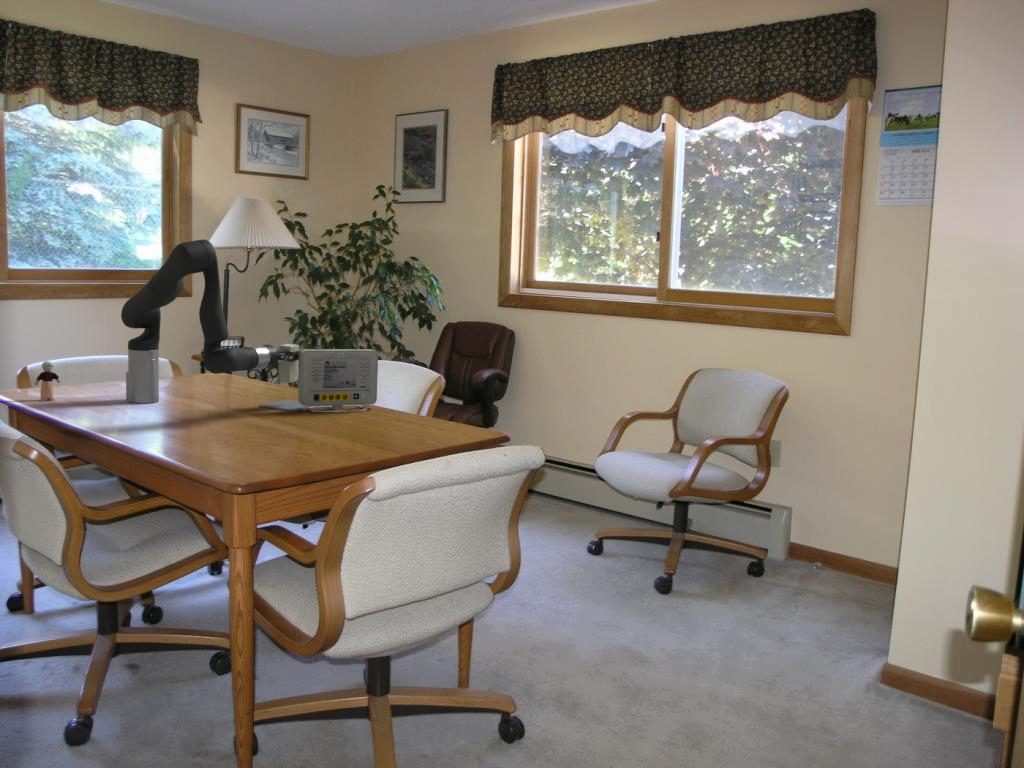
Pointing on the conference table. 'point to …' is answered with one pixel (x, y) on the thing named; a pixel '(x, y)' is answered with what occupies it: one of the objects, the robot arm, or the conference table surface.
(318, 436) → the conference table surface
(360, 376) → the network device
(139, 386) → the robot arm
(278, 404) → the slate pad
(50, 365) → the grandmother figurine
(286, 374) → the skincare box
